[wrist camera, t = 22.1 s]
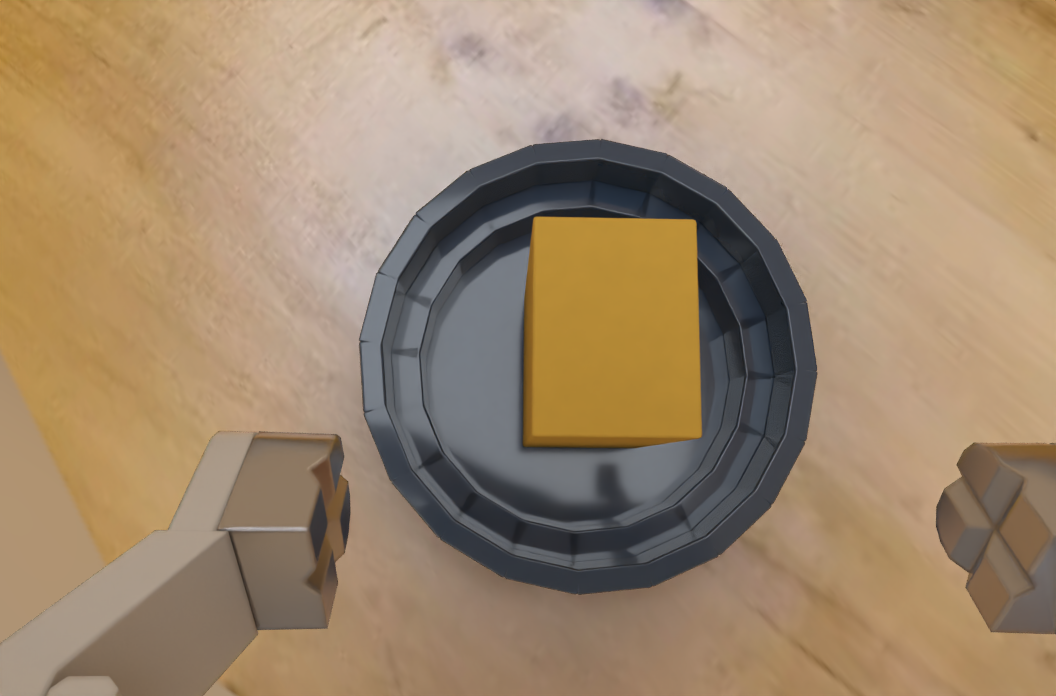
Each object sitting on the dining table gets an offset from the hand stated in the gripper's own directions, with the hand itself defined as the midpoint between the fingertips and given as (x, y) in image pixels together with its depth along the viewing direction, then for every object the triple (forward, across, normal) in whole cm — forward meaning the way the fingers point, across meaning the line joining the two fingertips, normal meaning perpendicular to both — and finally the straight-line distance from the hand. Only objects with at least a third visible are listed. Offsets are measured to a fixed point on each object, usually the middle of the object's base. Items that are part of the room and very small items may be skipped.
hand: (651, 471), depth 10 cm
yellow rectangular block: (+17, -1, +11) cm, 20 cm away
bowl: (+17, -1, +12) cm, 21 cm away
